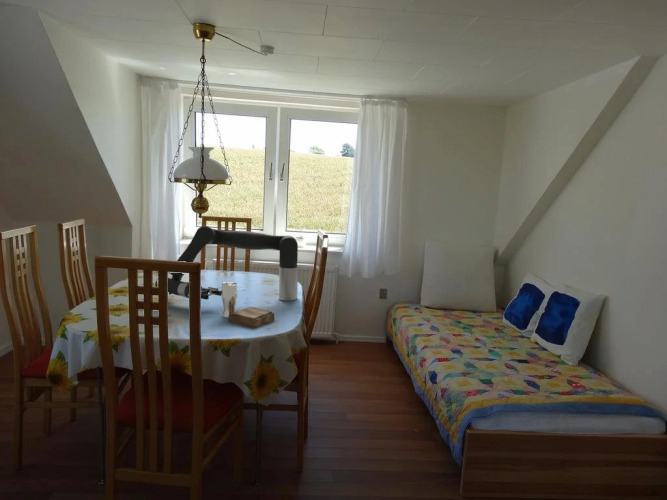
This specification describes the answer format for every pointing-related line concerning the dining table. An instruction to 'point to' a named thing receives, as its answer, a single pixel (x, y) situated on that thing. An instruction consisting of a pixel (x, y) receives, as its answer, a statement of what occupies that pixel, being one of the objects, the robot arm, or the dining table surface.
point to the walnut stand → (251, 317)
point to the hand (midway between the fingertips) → (214, 295)
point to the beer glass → (229, 298)
